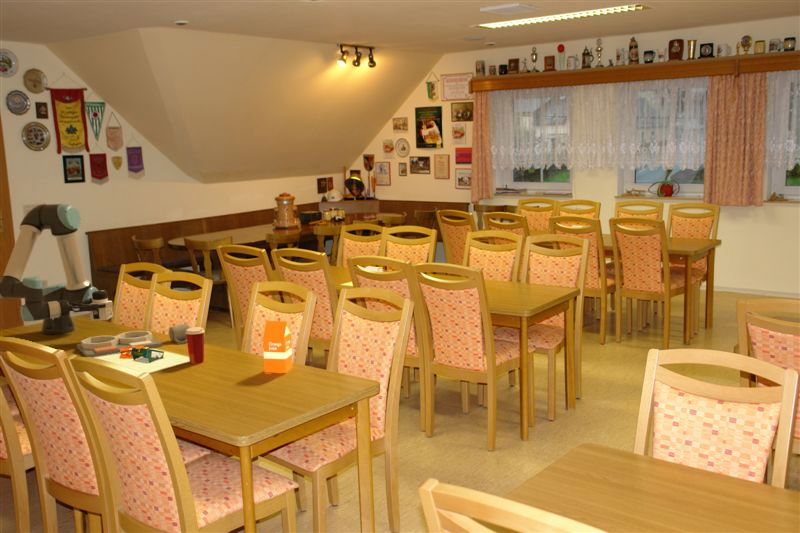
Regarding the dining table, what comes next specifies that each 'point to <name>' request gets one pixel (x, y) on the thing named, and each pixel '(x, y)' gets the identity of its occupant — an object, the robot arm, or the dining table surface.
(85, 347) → the ring board
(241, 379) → the dining table surface
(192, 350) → the paper cup
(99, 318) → the container
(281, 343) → the orange juice
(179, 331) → the ceramic mug
